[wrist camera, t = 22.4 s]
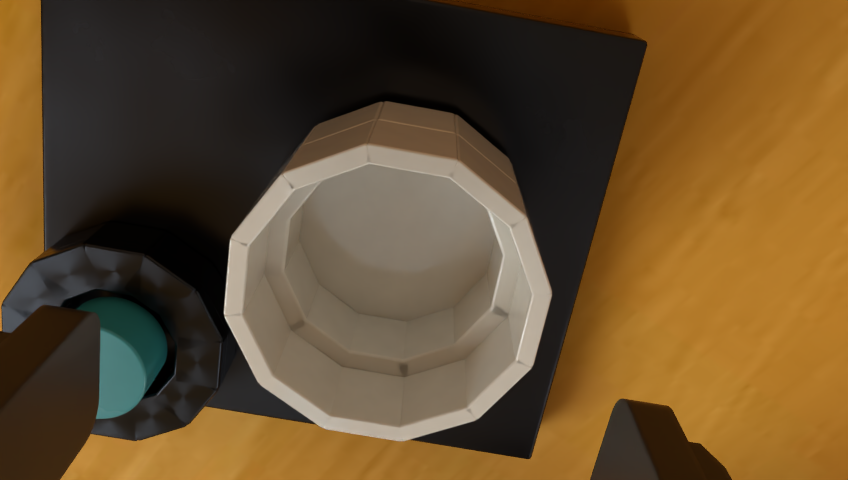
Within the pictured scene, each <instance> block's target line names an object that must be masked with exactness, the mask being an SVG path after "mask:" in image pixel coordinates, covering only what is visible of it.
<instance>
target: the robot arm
mask: <svg viewBox="0 0 848 480" xmlns="http://www.w3.org/2000/svg"><path fill="white" fill-rule="evenodd" d="M99 383H100V320H99V317H98V315H97V314H96V313H95V312H89V311H83V310H77V309H71V308H64V307H58V306H52V305H42V306H40V307H39V308H37V309H36V310H35V311H34V312H33V313H32V314H31V315H30V316H29V317H28V318H27V319H26V320H25V321H24V322H22V323H21V324H20V325H19V326H18V327H17V328H16V329H15V330H14V331H13V332H12V333H9V332H2V331H0V480H60V479H61V477H62V476H63V475H64V473H65V472H66V470H67V469H68V467H69V466H70V464H71V463H72V462H73V460H74V459H75V457H76V456H77V454H78V453H79V451H80V450H81V449H82V447H83V446H84V444H85V443H86V441H87V439H88V438H89V436H90V433H91V431H92V429H93V426H94V423H95V420H96V416H97V411H98V406H99ZM590 480H732V479H731V477H730V475H729V474H728V472H727V470H726V468H725V467H724V466H723V465H722V464H721V463H720V462H719V461H718V460H717V459H716V458H715V457H714V456H712V455H711V454H710V453H709V452H708V451H707V450H706V449H705V448H704V447H703V446H702V445H701V444H699V443H693V442H688V440H687V438H686V436H685V434H684V432H683V430H682V428H681V426H680V424H679V422H678V420H677V418H676V416H675V414H674V412H673V410H672V409H671V408H670V407H669V406H665V405H659V404H653V403H647V402H640V401H634V400H628V399H620V400H618V401H617V403H616V404H615V406H614V408H613V411H612V413H611V416H610V420H609V423H608V426H607V429H606V432H605V435H604V438H603V441H602V444H601V447H600V451H599V454H598V457H597V460H596V463H595V466H594V469H593V472H592V475H591V479H590Z"/></svg>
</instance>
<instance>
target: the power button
mask: <svg viewBox="0 0 848 480" xmlns="http://www.w3.org/2000/svg"><path fill="white" fill-rule="evenodd" d="M76 309H77V310H83V311H89V312H95V313H96V314H97V315H98V317H99V320H100V383H99V406H98V411H97V416H96V419H107V418H113V417H118V416H120V415H123V414H125V413H127V412H129V411H130V410H132V409H133V408H134V407H135V406H136V405H137V404H138V403H139V402H140V401H141V399H142V398H143V396H144V395H145V393H146V392H147V390H148V389H149V387H150V386H151V384H152V383H153V381H154V380H155V378H156V377H157V375H158V374H159V372H160V371H161V369H162V368H163V366H164V364H165V361H166V358H167V340H166V336H165V333H164V331H163V329H162V327H161V325H160V324H159V322H158V321H157V319H156V318H155V317H154V316H153V315H152V314H151V313H150V312H149V311H147V310H146V309H145V308H143V307H142V306H140V305H139V304H137V303H135V302H132V301H130V300H127V299H123V298H119V297H99V298H95V299H91V300H89V301H86V302H84V303H83V304H81V305H80V306H79V307H77V308H76Z"/></svg>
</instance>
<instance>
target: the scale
mask: <svg viewBox="0 0 848 480" xmlns="http://www.w3.org/2000/svg"><path fill="white" fill-rule="evenodd" d="M41 41H42V119H43V198H44V252H43V253H42V254H41V255H40V256H38V257H37V258H36V259H34V260H33V261H32V262H31V263H29V265H28V266H27V268H26V269H25V271H24V272H23V273H22V275H21V276H20V278H19V279H18V281H17V282H16V283H15V285H14V286H13V288H12V289H11V291H10V292H9V293H8V295H7V296H6V298H5V299H4V301H3V304H2V306H1V307H2V332H9V333H12V332H13V331H14V330H15V329H16V328H17V327H18V326H19V325H20V324H21V323H22V322H24V321H25V320H26V319H27V318H28V317H29V316H30V315H31V314H32V313H33V312H34V311H35V310H36V309H37V308H39V307H40V306H42V305H52V306H58V307H64V308H71V309H76V308H77V307H79V306H80V305H81V304H83V303H84V302H86V301H89V300H91V299H95V298H99V297H119V298H123V299H127V300H130V301H132V302H135V303H137V304H139V305H140V306H142V307H143V308H145V309H146V310H147V311H149V312H150V313H151V314H152V315H153V316H154V317H155V318H156V319H157V321H158V322H159V324H160V325H161V327H162V329H163V331H164V333H165V336H166V340H167V358H166V361H165V364H164V366H163V368H162V369H161V371H160V372H159V374H158V375H157V377H156V378H155V380H154V381H153V383H152V384H151V386H150V387H149V389H148V390H147V392H146V393H145V395H144V396H143V398H142V399H141V401H140V402H139V403H138V404H137V405H136V406H135V407H134V408H133V409H132V410H130V411H129V412H127V413H125V414H123V415H120V416H118V417H113V418H107V419H96V420H95V423H94V426H93V429H92V431H91V433H90V434H95V435H101V436H107V437H114V438H120V439H126V440H132V441H137V440H143V439H146V438H149V437H153V436H156V435H159V434H163V433H166V432H169V431H173V430H176V429H179V428H182V427H185V426H186V425H188V424H189V423H191V422H192V420H193V419H194V418H195V417H196V416H197V415H198V414H199V412H200V411H201V410H202V409H203V408H204V407H205V406H206V407H212V408H218V409H225V410H231V411H237V412H243V413H249V414H255V415H261V416H267V417H274V418H280V419H286V420H292V421H298V422H304V423H310V424H316V423H314V422H313V421H311V420H310V419H308V418H307V417H306V416H304V415H303V414H301V413H300V412H298V411H297V410H295V409H294V408H293V407H291V406H290V405H288V404H287V403H285V402H284V401H282V400H281V399H280V398H278V397H277V396H275V395H274V394H272V393H271V392H269V391H268V390H267V389H265V388H264V387H262V386H261V385H260V383H258V382H257V380H256V378H255V376H254V374H253V372H252V370H251V368H250V366H249V364H248V362H247V360H246V358H245V356H244V354H243V352H242V350H241V348H240V347H239V345H238V343H237V341H236V339H235V337H234V335H233V333H232V331H231V329H230V327H229V325H228V323H227V321H226V319H225V317H224V301H225V289H226V278H227V267H228V255H229V244H230V238H231V235H232V234H233V233H234V231H235V230H236V228H237V227H238V226H239V224H240V223H241V221H242V220H243V219H244V217H245V216H246V215H247V213H248V212H249V210H250V209H251V208H252V206H253V205H254V204H255V202H256V201H257V199H258V198H259V197H260V195H261V194H262V193H263V191H264V190H265V188H266V187H267V186H268V184H269V183H270V181H271V180H272V179H273V177H274V176H275V175H276V173H277V172H278V171H279V170H280V168H281V167H282V166H283V165H284V163H285V162H286V161H287V160H288V158H289V157H290V156H291V155H292V153H293V152H294V151H295V150H296V148H297V147H298V146H299V145H300V143H301V142H302V141H303V140H304V138H305V137H306V136H307V135H308V133H309V132H310V131H311V130H312V128H313V127H314V126H317V125H318V124H320V123H322V122H325V121H328V120H331V119H333V118H336V117H339V116H342V115H345V114H347V113H350V112H353V111H356V110H358V109H361V108H364V107H367V106H370V105H372V104H375V103H378V102H383V103H384V102H386V101H388V102H394V103H399V104H405V105H410V106H416V107H421V108H427V109H432V110H438V111H443V112H449V113H453V114H455V115H458V116H460V117H461V118H462V119H463V120H464V121H465V122H467V123H468V124H469V125H470V126H471V127H472V128H474V129H475V130H476V131H477V132H478V133H480V134H481V135H482V136H483V137H484V138H485V139H487V140H488V141H489V142H490V143H491V144H492V145H494V146H495V147H496V148H497V149H498V150H500V151H501V152H502V153H503V154H504V155H505V156H507V157H508V158H509V160H510V162H511V163H512V166H513V169H514V172H515V175H516V178H517V181H518V184H519V187H520V190H521V193H522V196H523V199H524V202H525V205H526V208H527V211H528V214H529V217H530V220H531V223H532V226H533V230H534V233H535V236H536V240H537V243H538V246H539V250H540V253H541V256H542V259H543V262H544V266H545V269H546V272H547V276H548V279H549V282H550V286H551V289H552V298H551V301H550V305H549V309H548V313H547V316H546V320H545V324H544V328H543V331H542V335H541V339H540V343H539V346H538V350H537V354H536V357H535V361H534V365H533V366H532V368H531V369H530V370H529V371H528V372H527V373H526V374H525V375H524V376H523V377H522V378H521V379H520V380H519V381H518V382H517V383H516V384H515V385H514V386H513V387H512V388H510V389H509V390H508V391H507V392H506V393H505V394H504V395H503V396H502V397H501V398H500V399H499V400H498V401H497V402H496V403H495V404H494V405H493V406H492V407H491V408H489V409H488V410H487V411H486V412H485V413H484V414H483V415H482V416H481V417H480V418H479V419H477V420H476V421H473V422H469V423H466V424H462V425H459V426H455V427H452V428H448V429H445V430H441V431H438V432H434V433H431V434H427V435H424V436H420V437H417V438H413V439H410V440H414V441H420V442H427V443H433V444H439V445H445V446H451V447H457V448H463V449H469V450H475V451H482V452H488V453H494V454H500V455H506V456H512V457H518V458H524V459H530V458H531V456H532V453H533V449H534V446H535V442H536V439H537V435H538V432H539V428H540V424H541V421H542V417H543V414H544V410H545V407H546V403H547V400H548V396H549V393H550V389H551V385H552V382H553V378H554V375H555V371H556V368H557V364H558V361H559V357H560V353H561V350H562V346H563V343H564V339H565V336H566V332H567V329H568V325H569V321H570V318H571V314H572V311H573V307H574V304H575V300H576V297H577V293H578V289H579V286H580V282H581V279H582V275H583V272H584V268H585V265H586V261H587V257H588V254H589V250H590V247H591V243H592V240H593V236H594V233H595V229H596V225H597V222H598V218H599V215H600V211H601V208H602V204H603V201H604V197H605V194H606V190H607V186H608V183H609V179H610V176H611V172H612V169H613V165H614V162H615V158H616V154H617V151H618V147H619V144H620V140H621V137H622V133H623V130H624V126H625V122H626V119H627V115H628V112H629V108H630V105H631V101H632V98H633V94H634V90H635V87H636V83H637V80H638V76H639V73H640V69H641V66H642V62H643V58H644V55H645V51H646V48H647V42H646V41H645V40H643V39H641V38H639V37H637V36H635V35H633V34H629V33H624V32H618V31H613V30H608V29H602V28H597V27H592V26H586V25H581V24H576V23H570V22H565V21H560V20H554V19H549V18H544V17H538V16H533V15H528V14H522V13H517V12H512V11H507V10H501V9H496V8H491V7H485V6H480V5H475V4H469V3H464V2H459V1H453V0H41ZM316 425H317V424H316Z"/></svg>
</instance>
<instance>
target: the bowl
mask: <svg viewBox="0 0 848 480" xmlns="http://www.w3.org/2000/svg"><path fill="white" fill-rule="evenodd" d="M551 298H552V289H551V286H550V282H549V279H548V276H547V272H546V269H545V266H544V262H543V259H542V256H541V253H540V250H539V246H538V243H537V240H536V236H535V233H534V230H533V226H532V223H531V220H530V217H529V214H528V211H527V208H526V205H525V202H524V199H523V196H522V193H521V190H520V187H519V184H518V181H517V178H516V175H515V172H514V169H513V166H512V163H511V162H510V160H509V158H508V157H507V156H505V155H504V154H503V153H502V152H501V151H500V150H498V149H497V148H496V147H495V146H494V145H492V144H491V143H490V142H489V141H488V140H487V139H485V138H484V137H483V136H482V135H481V134H480V133H478V132H477V131H476V130H475V129H474V128H472V127H471V126H470V125H469V124H468V123H467V122H465V121H464V120H463V119H462V118H461V117H460V116H458V115H455V114H453V113H449V112H443V111H438V110H432V109H427V108H421V107H416V106H410V105H405V104H399V103H394V102H388V101H386V102H384V103H383V102H378V103H375V104H372V105H370V106H367V107H364V108H361V109H358V110H356V111H353V112H350V113H347V114H345V115H342V116H339V117H336V118H333V119H331V120H328V121H325V122H322V123H320V124H318V125H317V126H314V127H313V128H312V130H311V131H310V132H309V133H308V135H307V136H306V137H305V138H304V140H303V141H302V142H301V143H300V145H299V146H298V147H297V148H296V150H295V151H294V152H293V153H292V155H291V156H290V157H289V158H288V160H287V161H286V162H285V163H284V165H283V166H282V167H281V168H280V170H279V171H278V172H277V173H276V175H275V176H274V177H273V179H272V180H271V181H270V183H269V184H268V186H267V187H266V188H265V190H264V191H263V193H262V194H261V195H260V197H259V198H258V199H257V201H256V202H255V204H254V205H253V206H252V208H251V209H250V210H249V212H248V213H247V215H246V216H245V217H244V219H243V220H242V221H241V223H240V224H239V226H238V227H237V228H236V230H235V231H234V233H233V234H232V235H231V238H230V244H229V255H228V267H227V278H226V289H225V301H224V317H225V319H226V321H227V323H228V325H229V327H230V329H231V331H232V333H233V335H234V337H235V339H236V341H237V343H238V345H239V347H240V348H241V350H242V352H243V354H244V356H245V358H246V360H247V362H248V364H249V366H250V368H251V370H252V372H253V374H254V376H255V378H256V380H257V382H258V383H260V385H261V386H262V387H264V388H265V389H267V390H268V391H269V392H271V393H272V394H274V395H275V396H277V397H278V398H280V399H281V400H282V401H284V402H285V403H287V404H288V405H290V406H291V407H293V408H294V409H295V410H297V411H298V412H300V413H301V414H303V415H304V416H306V417H307V418H308V419H310V420H311V421H313V422H314V423H316V424H317V425H319V426H320V427H321V428H324V429H327V430H333V431H339V432H346V433H352V434H358V435H364V436H370V437H376V438H382V439H388V440H395V441H406V440H410V439H413V438H417V437H420V436H424V435H427V434H431V433H434V432H438V431H441V430H445V429H448V428H452V427H455V426H459V425H462V424H466V423H469V422H473V421H476V420H477V419H479V418H480V417H481V416H482V415H483V414H484V413H485V412H486V411H487V410H488V409H489V408H491V407H492V406H493V405H494V404H495V403H496V402H497V401H498V400H499V399H500V398H501V397H502V396H503V395H504V394H505V393H506V392H507V391H508V390H509V389H510V388H512V387H513V386H514V385H515V384H516V383H517V382H518V381H519V380H520V379H521V378H522V377H523V376H524V375H525V374H526V373H527V372H528V371H529V370H530V369H531V368H532V366H533V365H534V361H535V357H536V354H537V350H538V346H539V343H540V339H541V335H542V331H543V328H544V324H545V320H546V316H547V313H548V309H549V305H550V301H551Z"/></svg>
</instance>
